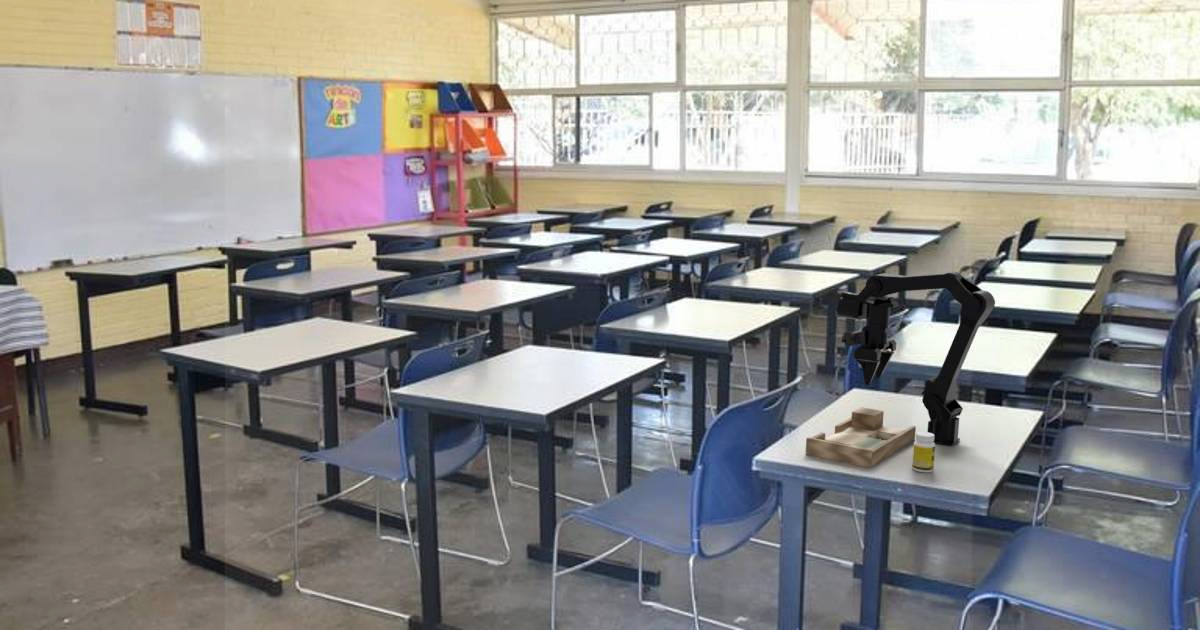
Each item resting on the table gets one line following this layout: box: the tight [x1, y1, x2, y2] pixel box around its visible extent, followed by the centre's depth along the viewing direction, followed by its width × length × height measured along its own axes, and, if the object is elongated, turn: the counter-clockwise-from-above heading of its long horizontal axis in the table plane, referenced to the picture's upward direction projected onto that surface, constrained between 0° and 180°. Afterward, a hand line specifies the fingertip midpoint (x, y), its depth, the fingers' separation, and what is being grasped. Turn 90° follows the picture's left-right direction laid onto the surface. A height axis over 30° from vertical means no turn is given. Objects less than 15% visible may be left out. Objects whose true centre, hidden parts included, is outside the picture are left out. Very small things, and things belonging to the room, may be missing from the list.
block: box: [851, 407, 885, 431], centre depth 264 cm, size 6×6×4 cm
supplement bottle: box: [911, 431, 936, 473], centre depth 236 cm, size 5×5×8 cm
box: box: [805, 416, 916, 468], centre depth 253 cm, size 16×29×4 cm, turn 143°
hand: (872, 381), depth 269 cm, fingers open, 9 cm apart
